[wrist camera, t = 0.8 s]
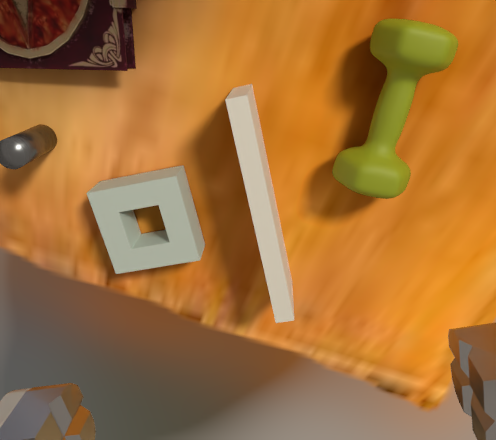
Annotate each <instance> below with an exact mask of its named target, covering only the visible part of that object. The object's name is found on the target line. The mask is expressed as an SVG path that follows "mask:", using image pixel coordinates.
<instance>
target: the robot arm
mask: <svg viewBox="0 0 496 440" xmlns="http://www.w3.org/2000/svg"><path fill="white" fill-rule="evenodd" d="M448 337H449V347H450V349H451V351H452V353H453V355H454V356H455V359H454V360H453V361H452V363H451V373H452V380H453V384H454V388H455V392H456V395H457V397H458V400H459V403H460V405H461V407H462V409H463V411H464V412H465V413H466V414H468V415H470V416H471V417H472V427H473V431H474V434H475V436H476V438H477V440H496V323H489V324H483V325H476V326H469V327H462V328H455V329H449V335H448ZM82 399H83V395H82V393H81V391H80V389H79V387H78V385H76V384H73V383H68V384H59V385H51V386H42V387H34V388H28V389H20V390H13V391H11V392H9V393H7V394H6V395H5V396H4V397H3V398H2V400H1V401H0V440H95V433H96V430H95V424H94V419H93V417H92V415H91V413H90V411H88V410H87V409H85V408H84V407H83V406H81V402H82Z"/></svg>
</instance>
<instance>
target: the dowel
mask: <svg viewBox="0 0 496 440" xmlns="http://www.w3.org/2000/svg"><path fill="white" fill-rule="evenodd" d="M56 144H57V137H56V134H55V133H54V131H53V130H52V129H51V128H50V127H48V126H46V125H37V126H34V127H32V128H30V129H27V130H25V131H23V132H20V133H18V134H15V135H13V136H11V137H8V138H6V139H4V140H1V141H0V163H1V164H2V165H3V166H4V167H6V168H9V169H18V168H20V167H22V166H24V165H25V164H27V163H29V162H31V161H33V160H34V159H36V158H38V157H40V156H42V155H43V154H45V153H47V152H49V151H51V150H52V149H54V147H55V146H56Z"/></svg>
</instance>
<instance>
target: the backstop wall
mask: <svg viewBox="0 0 496 440" xmlns="http://www.w3.org/2000/svg"><path fill="white" fill-rule="evenodd" d="M225 101H226V105H227V110H228V114H229V119H230V123H231V127H232V132H233V136H234V141H235V145H236V149H237V154H238V158H239V163H240V167H241V171H242V176H243V180H244V185H245V189H246V193H247V198H248V202H249V207H250V211H251V215H252V220H253V224H254V229H255V233H256V237H257V242H258V246H259V251H260V255H261V260H262V264H263V268H264V273H265V277H266V282H267V286H268V290H269V295H270V299H271V304H272V308H273V312H274V317H275V321H276V323H279V322H286V321H293V320H294V305H293V287H292V278H291V273H290V268H289V264H288V259H287V254H286V249H285V244H284V239H283V234H282V229H281V224H280V219H279V214H278V209H277V204H276V199H275V195H274V190H273V185H272V180H271V175H270V170H269V165H268V160H267V155H266V150H265V145H264V140H263V135H262V131H261V126H260V121H259V116H258V111H257V106H256V101H255V96H254V91H253V86H252V84H249V85H245V86H240V87H235V88H233V89H232V91H231V92H230V93H229V95H228V96H227V98H226V99H225Z"/></svg>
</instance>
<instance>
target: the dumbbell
mask: <svg viewBox="0 0 496 440" xmlns="http://www.w3.org/2000/svg"><path fill="white" fill-rule="evenodd" d="M457 47H458V41H457V38H456V37H455V36H454V35H453V34H451V33H450V32H448V31H447V30H445V29H443V28H441V27H439V26H436V25H432V24H428V23H424V22H419V21H414V20H407V19H385V20H382V21H380V22H378V23H377V24H376V25H375V27H374V30H373V33H372V36H371V40H370V51H371V53H372V54H373V56H374V57H376V58H377V59H378V60H380V61H381V62H382V63H383V64H384V65H385V67H386V68H387V78H386V80H385V83H384V85H383V87H382V90H381V93H380V95H379V98H378V101H377V104H376V107H375V110H374V113H373V117H372V121H371V125H370V129H369V134H368V138H367V140H366V142H365V143H364V144H363V145H362V146H358V147H351V148H348V149H345V150H343V151H341V152H340V153H339V154H338V155H337V157H336V160H335V162H334V166H333V170H332V174H333V176H334V178H335V179H336V180H337V181H339V182H340V183H341V184H343V185H344V186H346V187H347V188H349V189H350V190H352V191H354V192H356V193H359V194H363V195H367V196H371V197H376V198H385V199H388V198H394V197H396V196H398V195H400V194H401V193H402V192H403V191H404V190H405V189H406V187H407V184H408V182H409V179H410V174H411V173H410V169H409V167H408V165H407V164H406V163H405V162H404V161H402V160H401V159H400V158H399V157H398V156H397V155H396V153H395V146H396V143H397V141H398V139H399V137H400V135H401V132H402V130H403V127H404V124H405V121H406V119H407V116H408V113H409V110H410V107H411V104H412V100H413V97H414V92H415V88H416V85H417V82H418V81H419V79H420V78H421V77H422V76H424V75H426V74H430V73H435V72H439V71H442V70H444V69H446V68H447V67H448V66H449V65H450V64H451V62H452V61H453V58H454V56H455V53H456V51H457Z"/></svg>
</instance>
